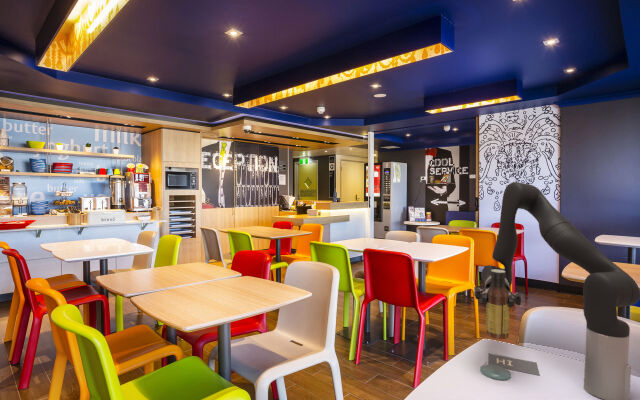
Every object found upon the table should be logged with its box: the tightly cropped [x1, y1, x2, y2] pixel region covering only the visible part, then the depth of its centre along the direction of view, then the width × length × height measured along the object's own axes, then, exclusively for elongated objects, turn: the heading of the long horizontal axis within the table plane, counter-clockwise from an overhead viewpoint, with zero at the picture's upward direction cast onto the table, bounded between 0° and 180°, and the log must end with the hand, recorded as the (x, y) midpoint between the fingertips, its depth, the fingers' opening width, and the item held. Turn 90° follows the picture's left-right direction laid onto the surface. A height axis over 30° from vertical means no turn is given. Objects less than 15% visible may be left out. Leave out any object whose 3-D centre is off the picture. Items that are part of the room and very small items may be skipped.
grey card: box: [487, 353, 541, 377], centre depth 115 cm, size 14×9×1 cm, turn 65°
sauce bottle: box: [485, 269, 510, 340], centre depth 109 cm, size 7×6×20 cm
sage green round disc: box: [479, 364, 512, 381], centre depth 109 cm, size 8×8×1 cm
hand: (497, 302), depth 106 cm, fingers closed on sauce bottle, 6 cm apart
